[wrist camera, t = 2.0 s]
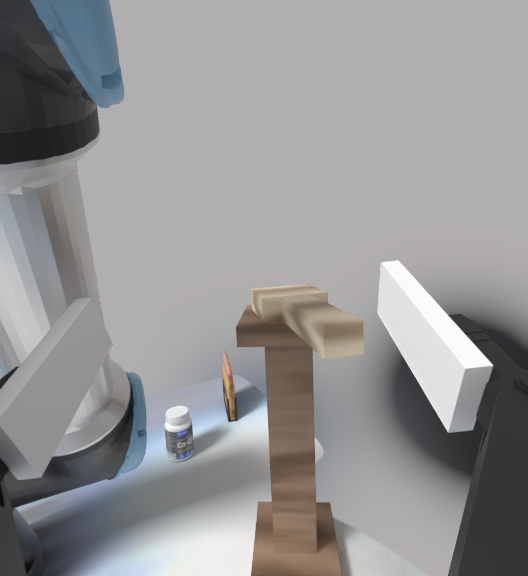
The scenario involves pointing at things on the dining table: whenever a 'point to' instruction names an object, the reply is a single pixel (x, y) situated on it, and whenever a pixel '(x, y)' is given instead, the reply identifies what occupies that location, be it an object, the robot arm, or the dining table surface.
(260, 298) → the paddle
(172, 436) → the pill bottle
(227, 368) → the ammunition clip
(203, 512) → the dining table surface
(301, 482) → the stand
